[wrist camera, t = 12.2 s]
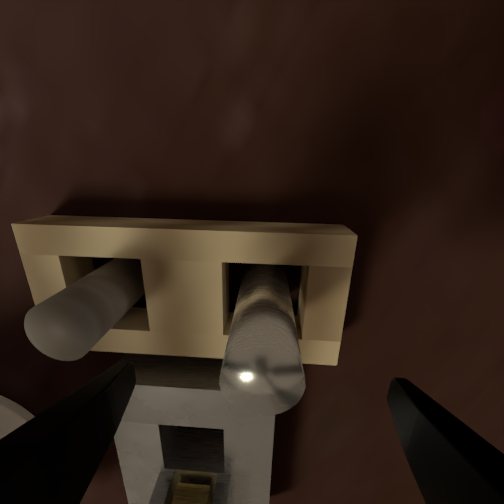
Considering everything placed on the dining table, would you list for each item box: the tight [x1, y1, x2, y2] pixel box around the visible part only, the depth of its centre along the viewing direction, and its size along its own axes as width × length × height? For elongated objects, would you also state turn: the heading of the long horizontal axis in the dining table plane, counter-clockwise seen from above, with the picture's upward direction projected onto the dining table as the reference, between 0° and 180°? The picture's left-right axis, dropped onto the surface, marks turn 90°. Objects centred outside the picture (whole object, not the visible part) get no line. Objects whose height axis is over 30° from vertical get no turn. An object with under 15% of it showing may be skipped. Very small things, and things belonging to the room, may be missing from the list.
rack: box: [11, 215, 358, 365], centre depth 14 cm, size 18×8×6 cm, turn 89°
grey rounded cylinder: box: [219, 264, 305, 416], centre depth 13 cm, size 3×3×8 cm
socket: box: [114, 353, 275, 504], centre depth 19 cm, size 11×16×5 cm
